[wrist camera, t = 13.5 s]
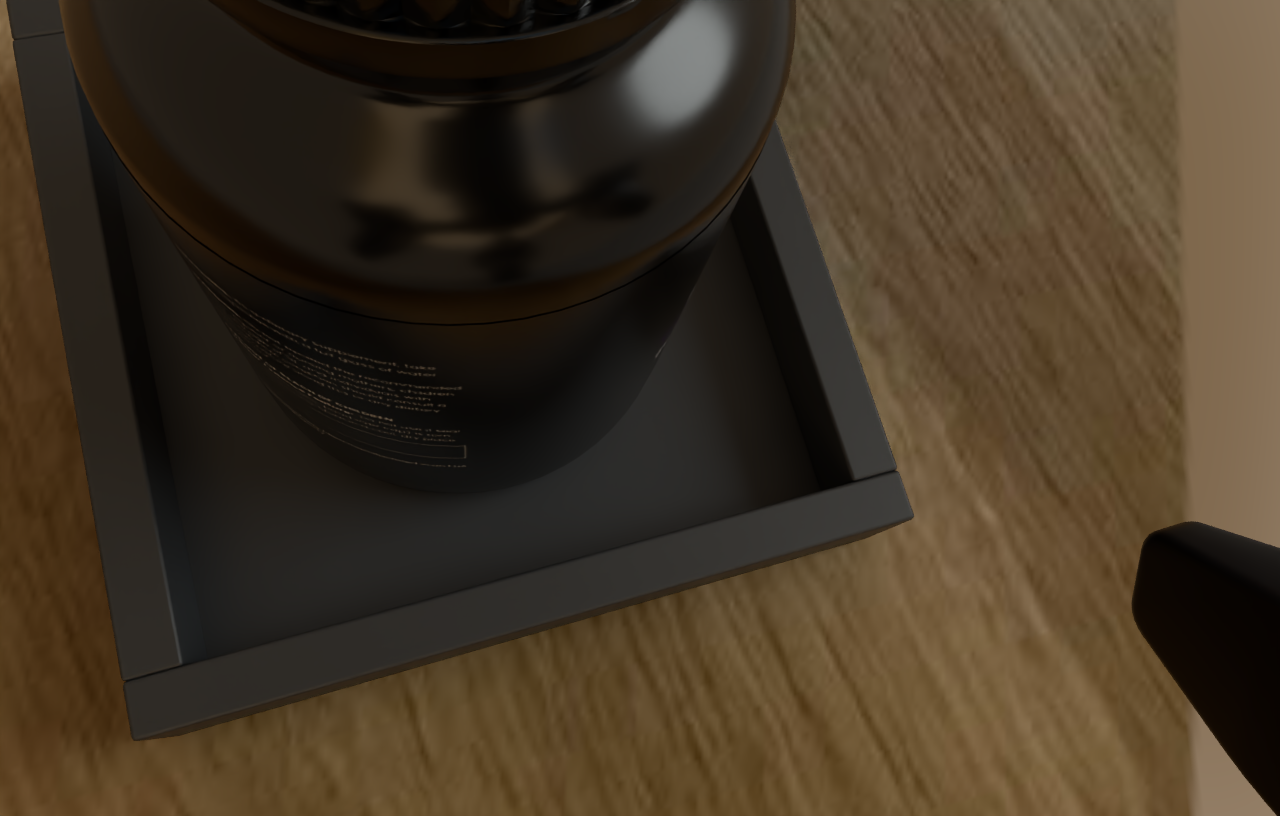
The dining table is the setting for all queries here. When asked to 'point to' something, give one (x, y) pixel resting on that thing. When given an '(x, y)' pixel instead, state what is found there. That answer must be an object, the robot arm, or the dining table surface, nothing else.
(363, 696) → the dining table surface
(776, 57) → the supplement bottle
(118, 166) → the black tray
